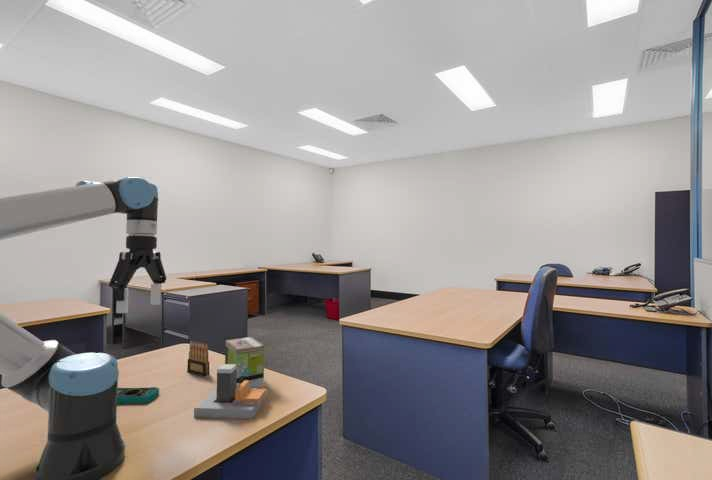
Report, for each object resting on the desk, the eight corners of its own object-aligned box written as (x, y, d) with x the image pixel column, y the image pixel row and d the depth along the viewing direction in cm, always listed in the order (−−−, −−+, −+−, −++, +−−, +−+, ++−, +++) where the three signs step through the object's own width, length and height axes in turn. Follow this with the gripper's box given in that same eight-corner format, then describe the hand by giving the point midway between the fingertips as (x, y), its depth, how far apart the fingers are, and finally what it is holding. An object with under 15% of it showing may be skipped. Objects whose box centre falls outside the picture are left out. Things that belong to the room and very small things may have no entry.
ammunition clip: (187, 371, 128) (187, 341, 129) (191, 370, 130) (191, 339, 130) (205, 376, 123) (205, 344, 124) (209, 375, 125) (210, 343, 125)
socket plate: (252, 418, 92) (252, 406, 93) (193, 416, 93) (194, 405, 93) (266, 398, 105) (267, 387, 106) (215, 396, 106) (215, 386, 106)
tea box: (264, 387, 114) (265, 344, 114) (235, 394, 108) (236, 349, 108) (251, 374, 126) (251, 335, 127) (223, 380, 120) (224, 339, 121)
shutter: (258, 404, 96) (258, 390, 96) (235, 403, 96) (235, 389, 96) (266, 393, 102) (266, 380, 103) (244, 393, 103) (244, 380, 103)
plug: (230, 409, 97) (230, 369, 98) (216, 409, 97) (217, 368, 98) (235, 403, 101) (236, 364, 102) (222, 403, 102) (223, 364, 102)
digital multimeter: (148, 405, 101) (148, 395, 101) (98, 406, 100) (98, 396, 101) (161, 394, 109) (161, 385, 109) (114, 395, 108) (115, 386, 108)
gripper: (121, 233, 83) (119, 317, 82) (179, 237, 108) (177, 301, 107) (93, 233, 83) (90, 316, 82) (157, 237, 108) (155, 301, 107)
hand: (139, 308), depth 95 cm, fingers open, 13 cm apart
